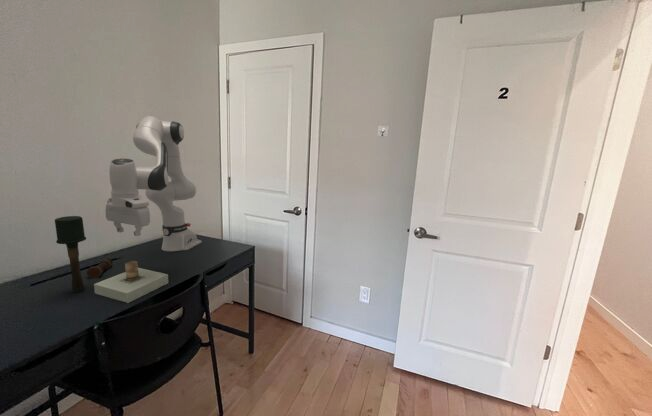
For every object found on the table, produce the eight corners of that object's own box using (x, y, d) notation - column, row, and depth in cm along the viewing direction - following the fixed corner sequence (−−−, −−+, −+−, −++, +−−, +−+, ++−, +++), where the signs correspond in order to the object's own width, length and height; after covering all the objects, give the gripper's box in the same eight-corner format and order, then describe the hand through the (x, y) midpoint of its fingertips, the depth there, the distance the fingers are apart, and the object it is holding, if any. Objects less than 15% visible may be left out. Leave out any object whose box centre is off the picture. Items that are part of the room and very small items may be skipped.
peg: (134, 284, 119) (132, 260, 117) (142, 286, 118) (140, 262, 115) (124, 289, 115) (122, 264, 113) (132, 291, 114) (130, 265, 111)
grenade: (84, 283, 117) (75, 214, 112) (97, 288, 114) (88, 217, 108) (59, 292, 110) (48, 218, 104) (71, 298, 107) (61, 221, 101)
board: (138, 275, 127) (137, 267, 126) (168, 283, 122) (167, 274, 121) (94, 293, 110) (93, 283, 110) (128, 303, 105) (127, 293, 104)
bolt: (111, 268, 138) (96, 281, 123) (100, 264, 136) (84, 276, 122) (117, 258, 138) (103, 269, 123) (106, 254, 136) (90, 265, 122)
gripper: (98, 198, 111) (102, 231, 114) (137, 204, 105) (139, 239, 107) (115, 196, 117) (118, 228, 119) (152, 202, 110) (154, 235, 113)
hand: (128, 233), depth 113 cm, fingers open, 8 cm apart
